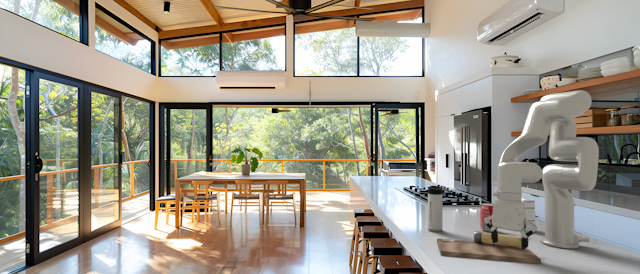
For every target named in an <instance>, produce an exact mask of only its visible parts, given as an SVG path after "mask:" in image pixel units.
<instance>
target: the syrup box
mask: <svg viewBox="0 0 640 274" xmlns="http://www.w3.org/2000/svg"><path fill="white" fill-rule="evenodd" d="M522 202H524V206H525V212H526V219H527V220H528V221H530V222H531V223H533V224H534V225H536V200H535V199H533V198H528V197H522ZM530 229H531V227H529V226H528V225H527V226H526V231H527V232H529V231H530ZM536 231H537V230H536ZM536 231H535V232H534V233H536Z"/></svg>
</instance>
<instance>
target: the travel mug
mask: <svg viewBox="0 0 640 274" xmlns="http://www.w3.org/2000/svg"><path fill="white" fill-rule="evenodd" d="M427 191H428V192H427V231H429V232H432V233H441V232H443V188H442V187H440V186H436V185H430V186H428V187H427Z"/></svg>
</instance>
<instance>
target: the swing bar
mask: <svg viewBox="0 0 640 274" xmlns="http://www.w3.org/2000/svg"><path fill="white" fill-rule="evenodd" d="M521 238H522V236H519V235H518V236H517V235H512V234H511V235H510V234H509V235H508V234H502V233H498V242H496V243H493V244H500V245H508V246H516V247H521ZM473 241H474V242H476V243H483V242H485V243H492V239H491V232H486V231H477V230H476V231H473Z"/></svg>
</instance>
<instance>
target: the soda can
mask: <svg viewBox="0 0 640 274" xmlns="http://www.w3.org/2000/svg"><path fill="white" fill-rule="evenodd" d="M493 206H494V203H487V202H483V203H481V206H480V214H479V215H480V216H479V218H480V219H479V220H480V223H479V224H480V229H481V230H482V232H486V233H491V231H490V229H489V228H488V227H487V225H486V223H485V221H484V218H486V217H488V216H491V215H492V214H493ZM490 223H491V224H492V219H491V220H490Z"/></svg>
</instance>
